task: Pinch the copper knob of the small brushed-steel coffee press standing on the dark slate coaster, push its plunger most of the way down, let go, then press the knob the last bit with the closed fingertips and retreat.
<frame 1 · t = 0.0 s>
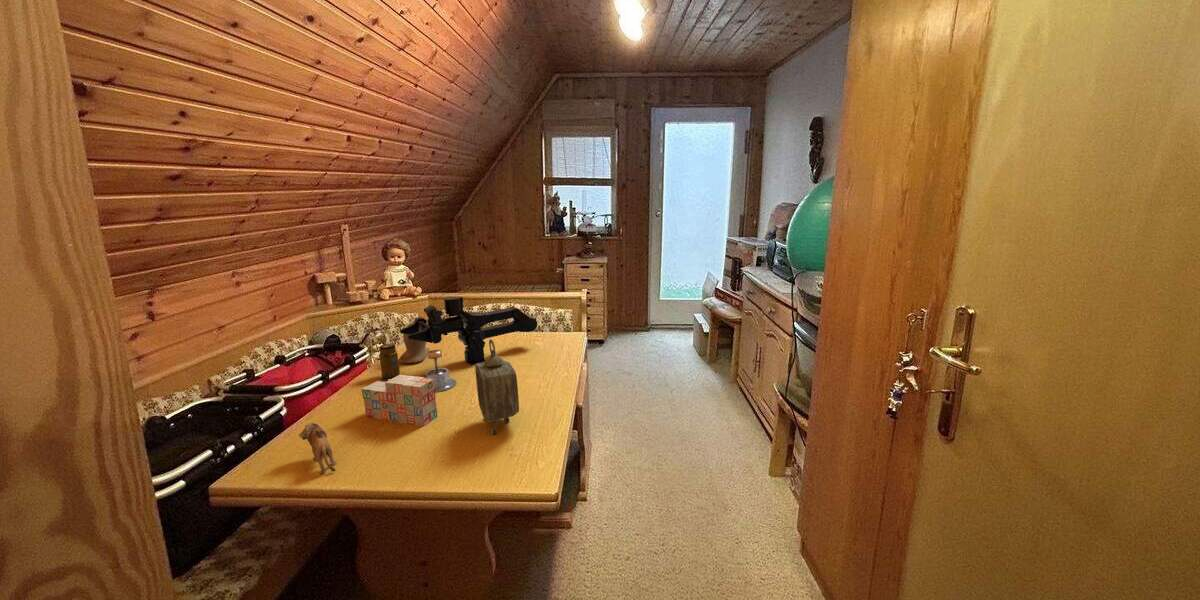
hand: (404, 334, 168), 17 cm above the table, tool horizontal, fingers open, 9 cm apart
stack of blocks: (401, 417, 142), on the table
condiment: (391, 377, 174), on the table
carafe: (433, 379, 163), on the coaster
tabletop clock: (500, 424, 136), on the table
plunger: (435, 363, 162), point 8 cm above the table, slide at 0.0 cm
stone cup: (417, 359, 193), on the table
coaster: (438, 385, 164), on the table
lion figurine: (321, 463, 119), on the table
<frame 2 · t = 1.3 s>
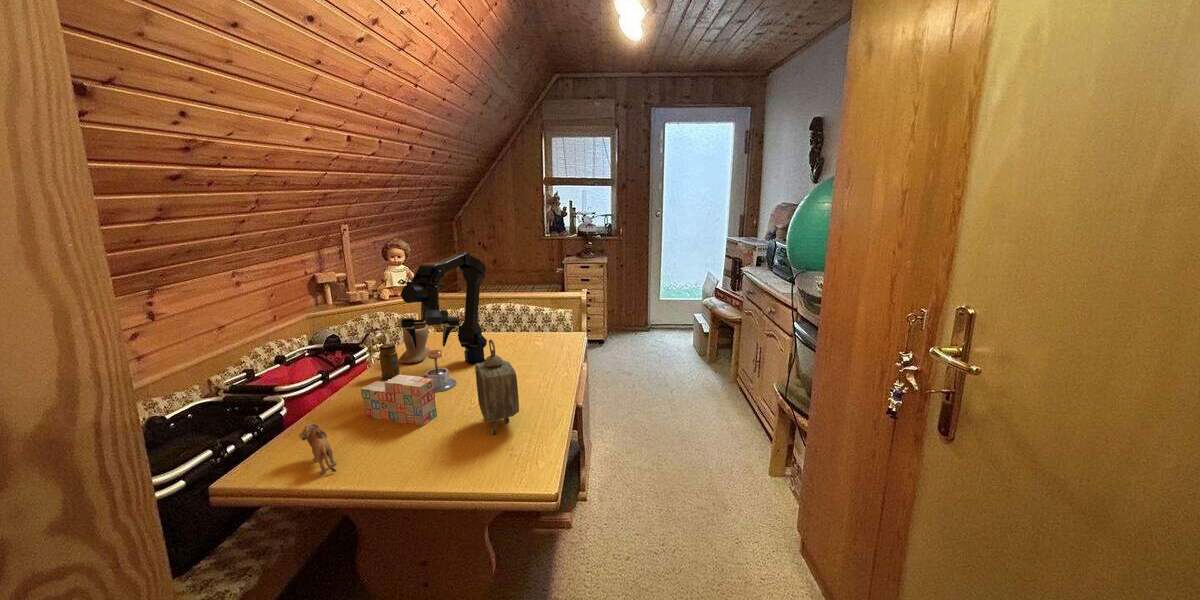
hand: (429, 347, 162), 14 cm above the table, tool pointing down, fingers open, 9 cm apart
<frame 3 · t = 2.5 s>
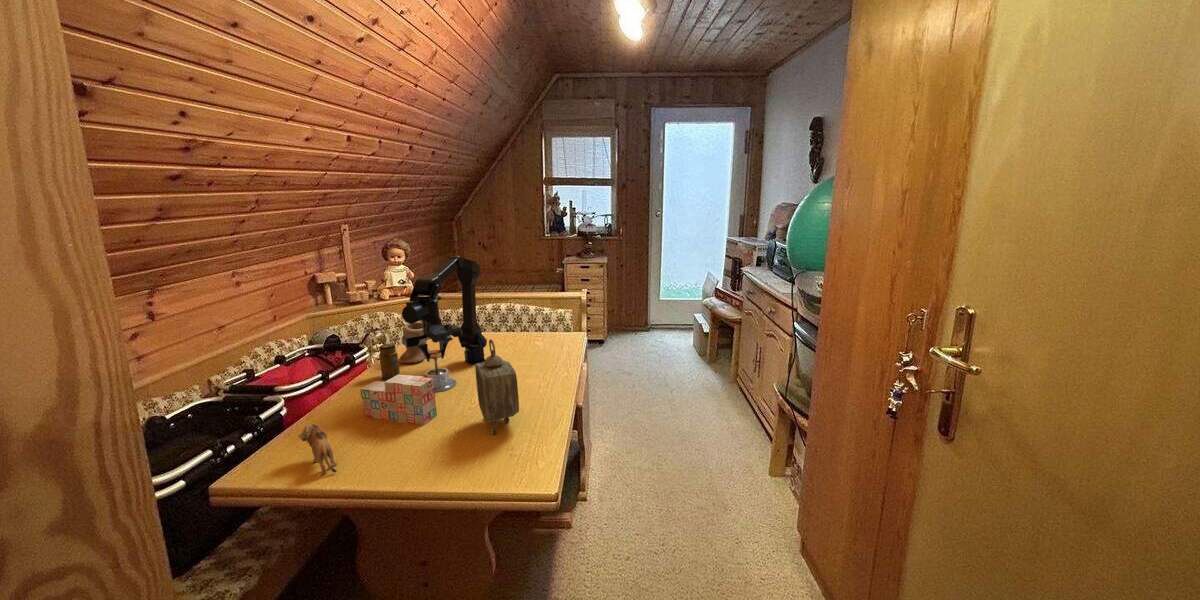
hand: (435, 359, 162), 9 cm above the table, tool pointing down, fingers closed on plunger, 4 cm apart
plunger: (435, 363, 162), point 8 cm above the table, slide at 0.0 cm, touching gripper
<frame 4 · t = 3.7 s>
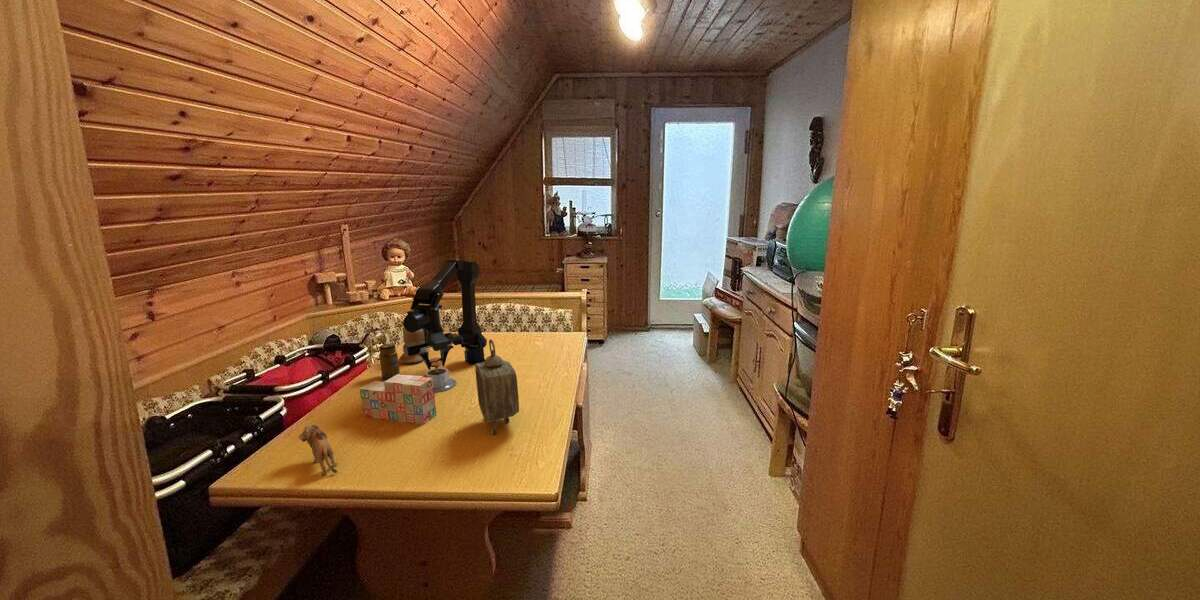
hand: (436, 367, 163), 6 cm above the table, tool pointing down, fingers closed on plunger, 4 cm apart
plunger: (436, 371, 163), point 5 cm above the table, slide at 2.9 cm, touching gripper
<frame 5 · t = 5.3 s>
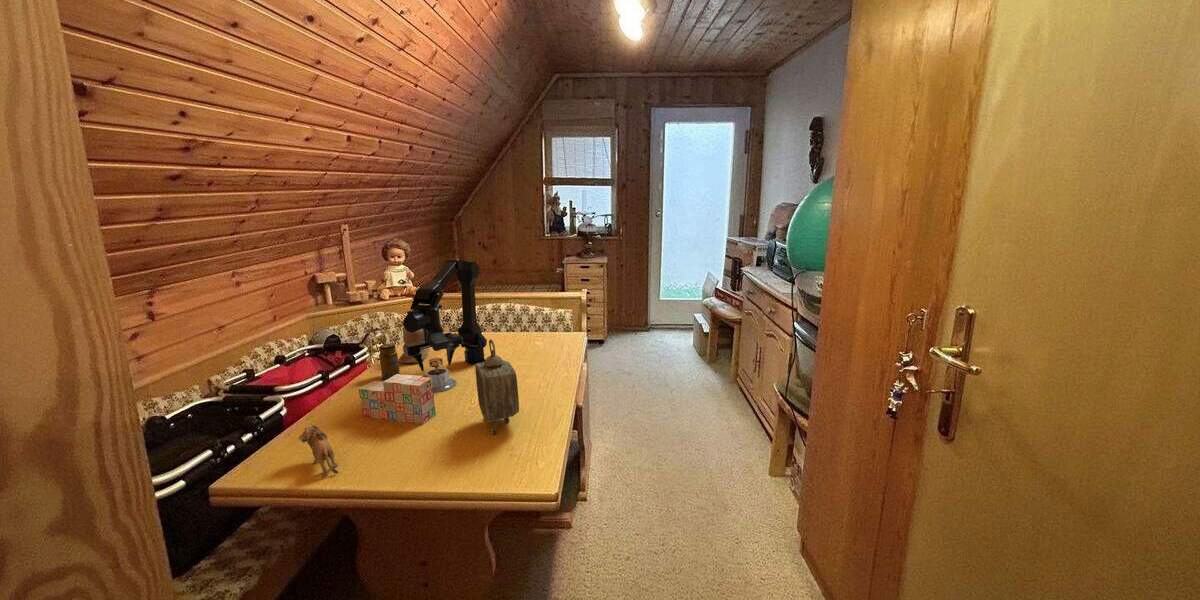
hand: (436, 367, 163), 7 cm above the table, tool pointing down, fingers open, 9 cm apart
plunger: (436, 371, 163), point 5 cm above the table, slide at 2.9 cm
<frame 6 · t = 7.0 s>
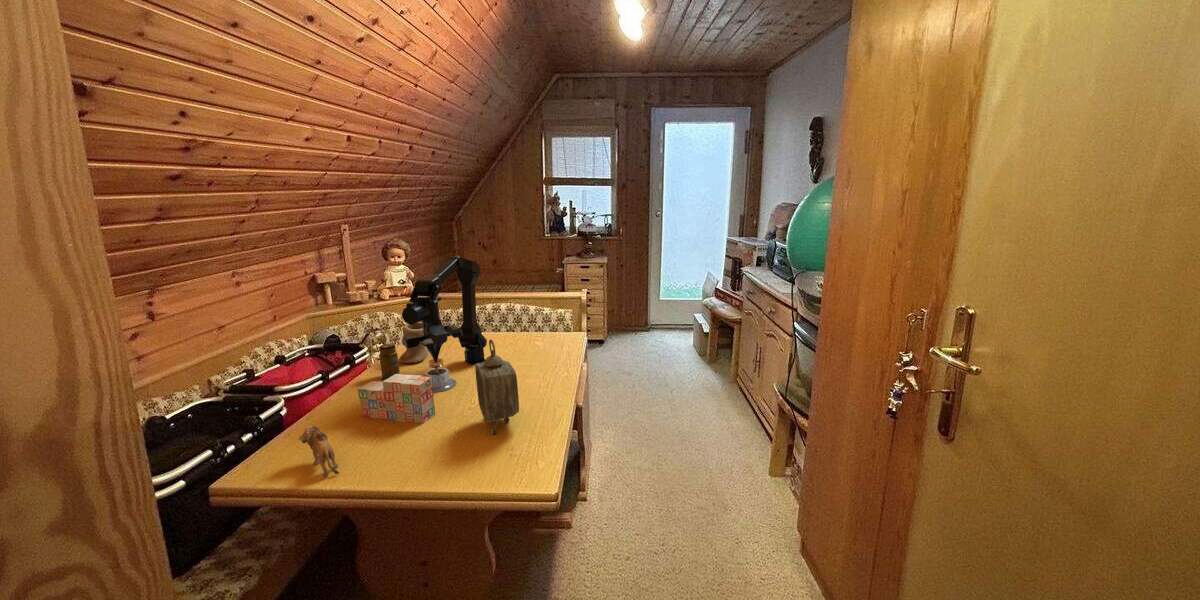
hand: (435, 360, 162), 9 cm above the table, tool pointing down, fingers closed, pressing on plunger
plunger: (436, 371, 163), point 5 cm above the table, slide at 3.2 cm, touching gripper
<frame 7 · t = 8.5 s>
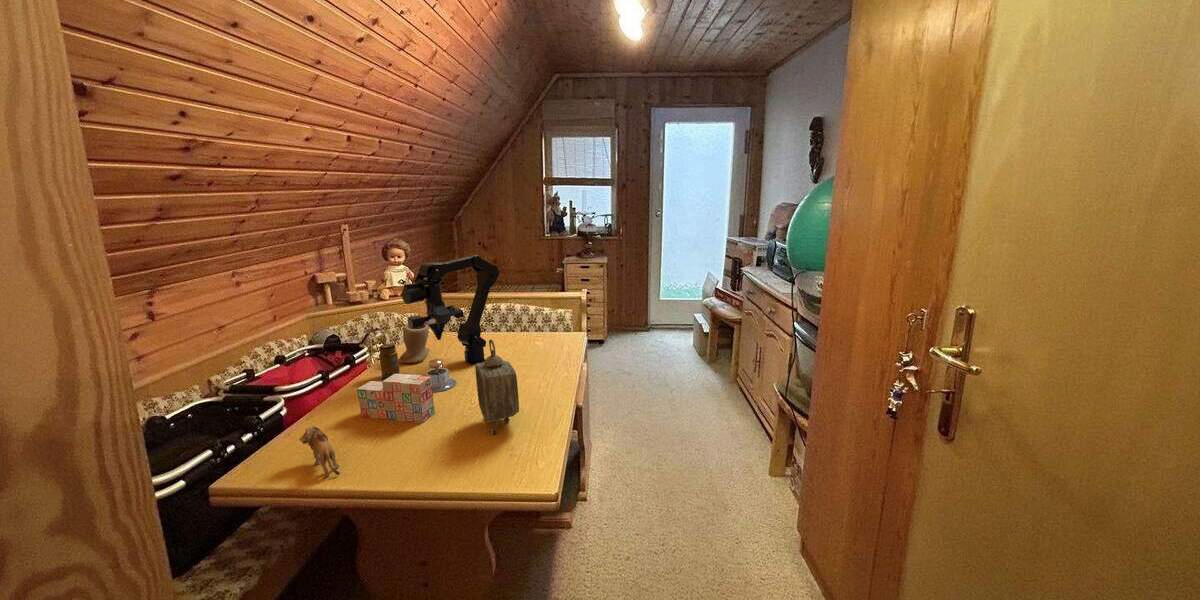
hand: (439, 339, 173), 13 cm above the table, tool pointing down, fingers closed
plunger: (436, 372, 163), point 5 cm above the table, slide at 3.3 cm
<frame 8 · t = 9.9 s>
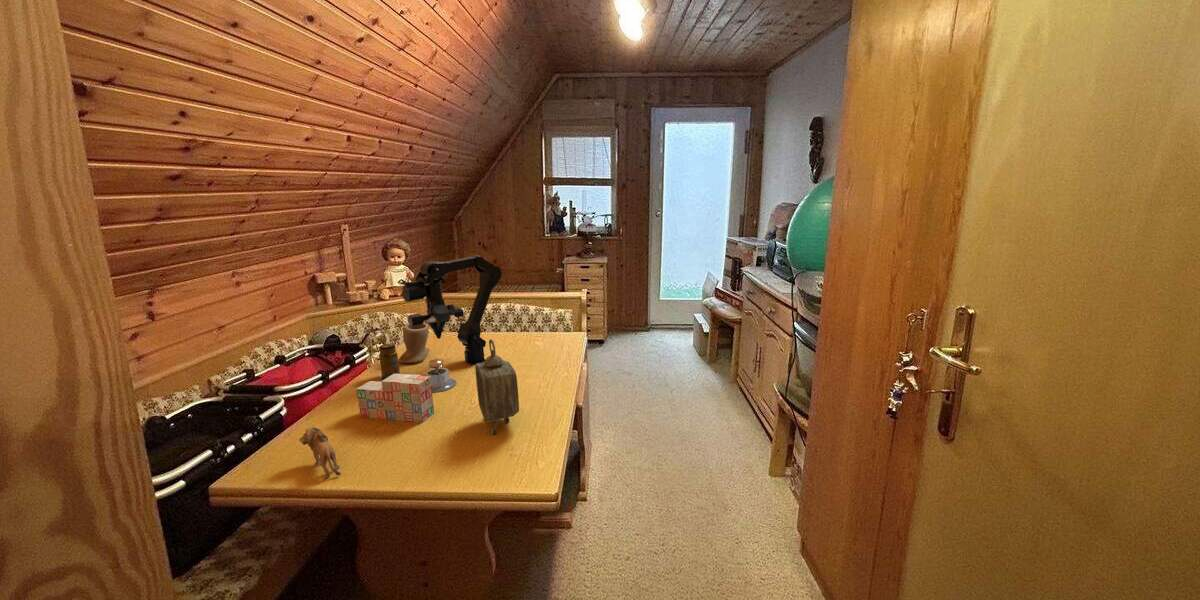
hand: (438, 338, 174), 13 cm above the table, tool pointing down, fingers closed
at the end: plunger slide at 3.3 cm; the gripper is holding nothing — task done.
